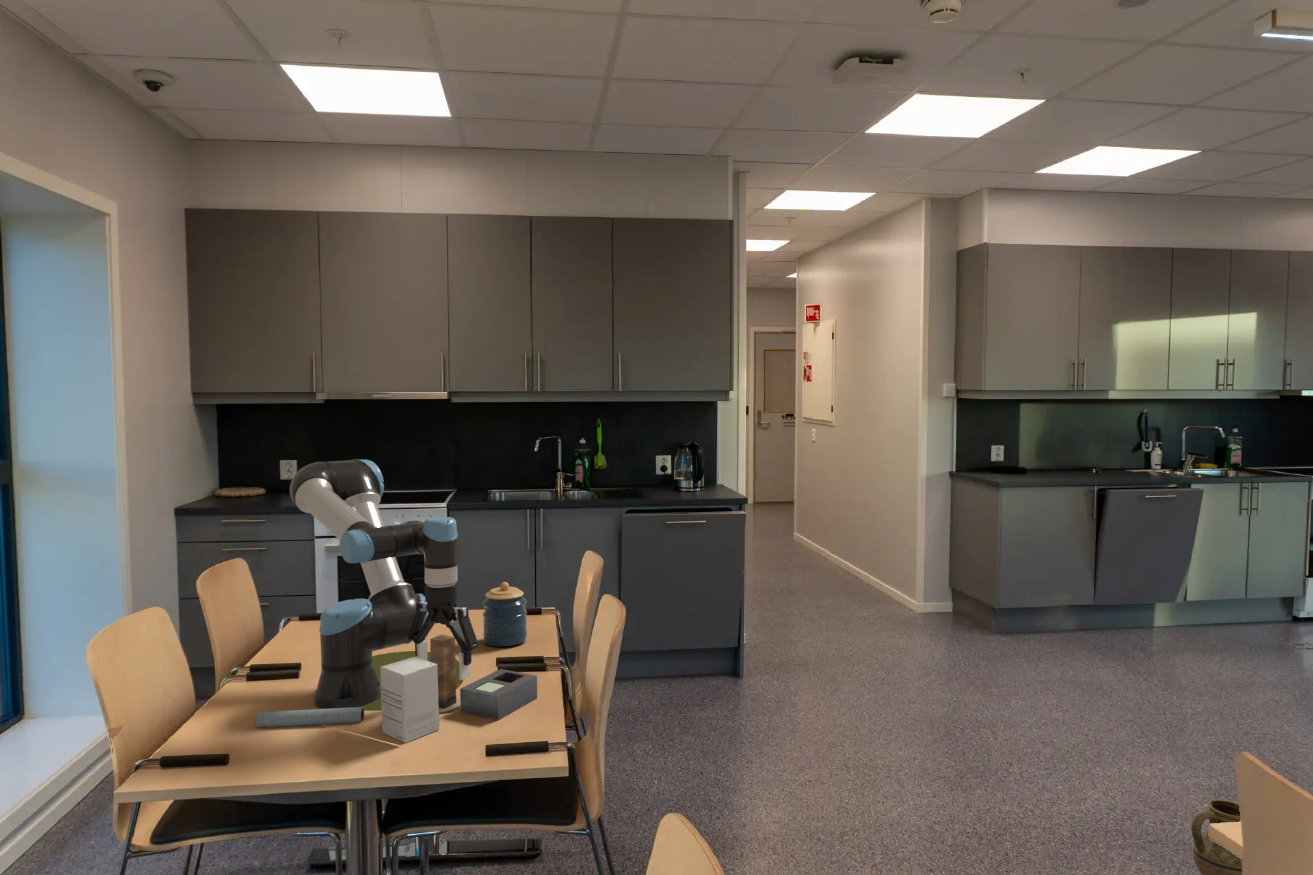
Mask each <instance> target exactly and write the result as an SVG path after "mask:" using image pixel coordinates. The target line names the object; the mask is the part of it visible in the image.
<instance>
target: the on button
mask: <svg viewBox="0 0 1313 875" xmlns="http://www.w3.org/2000/svg"><path fill="white" fill-rule="evenodd" d="M504 686H505V685H500V684H495V683H490V682H488V683H486V684H484V685H482V686H480V687H478V688H476V689H477V690H482V691H487V692H491V693H492V692H494V691H496V690H498V689H500V688H502V687H504Z"/></svg>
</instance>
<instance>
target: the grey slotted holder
mask: <svg viewBox="0 0 1313 875" xmlns="http://www.w3.org/2000/svg"><path fill="white" fill-rule="evenodd" d="M488 682H490V683H495V684H500V685H505V686H504V687H502V688H500V689H498V690H496V691H494V692H492V693H491V692H487V691H482V690H477V689H476V688H478V687H480V686H482V685H484V684H486V683H488ZM459 693H460V694H459V697H460V698H459V700H460V713H464V714H469V715H474V716H477V717H482V718H487V719H491V720H494V721H495V720H496V721H500V720H502V719H503V718H505V717H507V716H508V715H510V714H512V713H514V712H516V711H517V710H519V709H521V708H522V707H524V706H526V705H528V704H530V703H532V702H533V701H535V700H537V699H538V675H534V674H529V673H523V672H519V671H514V670H507V669H504V668H503V669H502V668H500V669H498V670H495V671H494V672H492V673H489V674H488V675H485V676H483V677H481V678H478V679H476V680H475V681H473V682H471V683H469V684H467V685H465V686H462V687H460V689H459Z"/></svg>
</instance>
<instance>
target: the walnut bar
mask: <svg viewBox="0 0 1313 875" xmlns="http://www.w3.org/2000/svg"><path fill="white" fill-rule="evenodd" d="M429 641H430V646H429V647H430V650H429V651H430V662H432V663H435V664H437V676H438V706H439V708H443V709H445V708H447V707H449V706H451V705H453V704H455V703H456V699H457V686H456V685H457V680H456V679H457V677H456V676H457V672H456V665H457V664H456V639H455V638H454V636H453V635H448V634H443V633H442V634H439V635H437V636H434V637H432V638H430V640H429Z"/></svg>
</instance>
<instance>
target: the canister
mask: <svg viewBox="0 0 1313 875" xmlns="http://www.w3.org/2000/svg"><path fill="white" fill-rule="evenodd" d="M524 594H525V593H524V591H522V590H521V589H519V588H518V587H515V586H510V584H509V583H508V582H507V581H503V582H501V583H500V584H499V587H494V588H491V589H490V590H489V591H488V592H486V593H485V597H486V598H485V600H483V601H482V606H484V611H483V613H482V615H483V633H482V635H483V641H484V643H485V644H487V645H488V646H494V647H511V646H516V645H519V644H522V643H525V641H526V640H527V636H528V630H527V614H528V611H527V609H526V604H527V602H528V600H527V599H526V598H525V597H524Z"/></svg>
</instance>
